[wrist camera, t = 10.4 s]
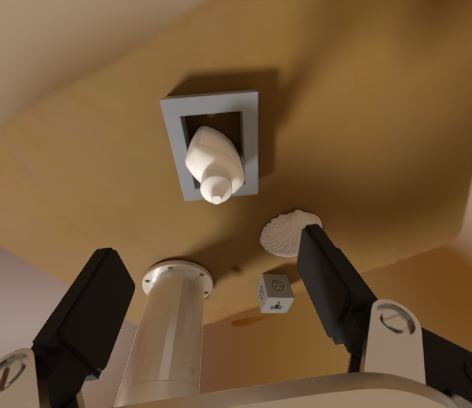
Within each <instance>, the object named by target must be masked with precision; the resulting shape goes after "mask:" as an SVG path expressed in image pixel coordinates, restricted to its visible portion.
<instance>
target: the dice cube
mask: <svg viewBox="0 0 472 408" xmlns="http://www.w3.org/2000/svg"><path fill="white" fill-rule="evenodd" d="M256 290H257V295H258V300H259V305H260V310H261V313H286V312H287V310H288V309H289V307H290V305H291V303H292V302H293V300H294V298H295V297H294V294H293V292H292V289H291V286H290V283H289V280H288V277H287V275H286V274H265V273H262V275H261V278H260V281H259V283H258V286H257V288H256Z"/></svg>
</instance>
